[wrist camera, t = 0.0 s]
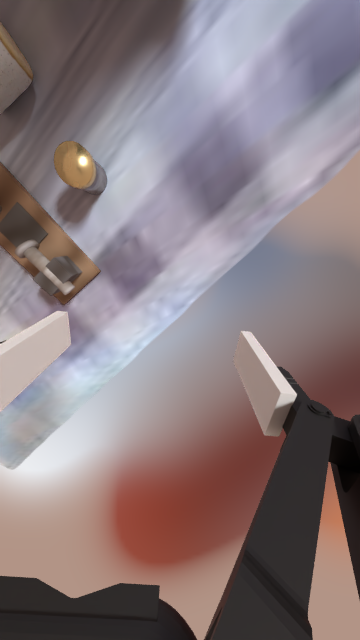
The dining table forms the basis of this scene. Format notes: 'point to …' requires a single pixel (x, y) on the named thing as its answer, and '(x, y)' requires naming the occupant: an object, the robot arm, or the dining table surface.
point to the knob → (79, 168)
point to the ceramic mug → (12, 71)
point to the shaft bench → (41, 242)
